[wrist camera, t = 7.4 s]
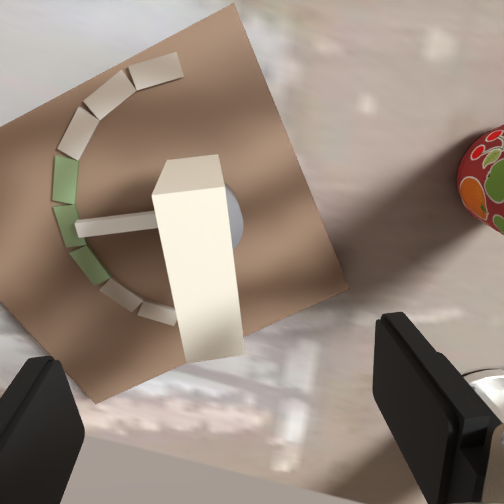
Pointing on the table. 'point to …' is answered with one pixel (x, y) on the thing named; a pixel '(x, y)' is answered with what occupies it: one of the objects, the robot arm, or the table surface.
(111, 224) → the pointer knob
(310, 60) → the table surface
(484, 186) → the smoothie
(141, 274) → the tuner board
